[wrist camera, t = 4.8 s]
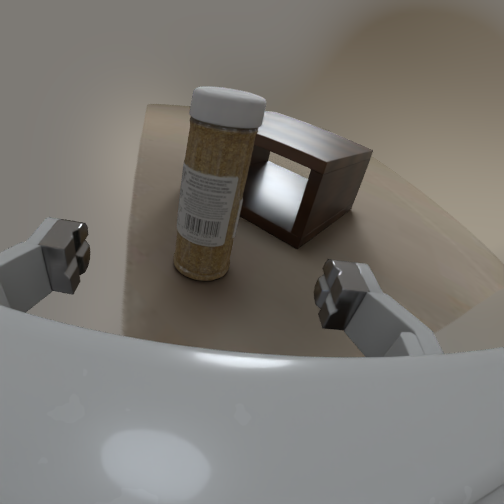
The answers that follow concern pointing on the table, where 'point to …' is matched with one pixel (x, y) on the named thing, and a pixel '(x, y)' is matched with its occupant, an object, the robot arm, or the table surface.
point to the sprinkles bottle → (214, 178)
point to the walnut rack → (301, 179)
